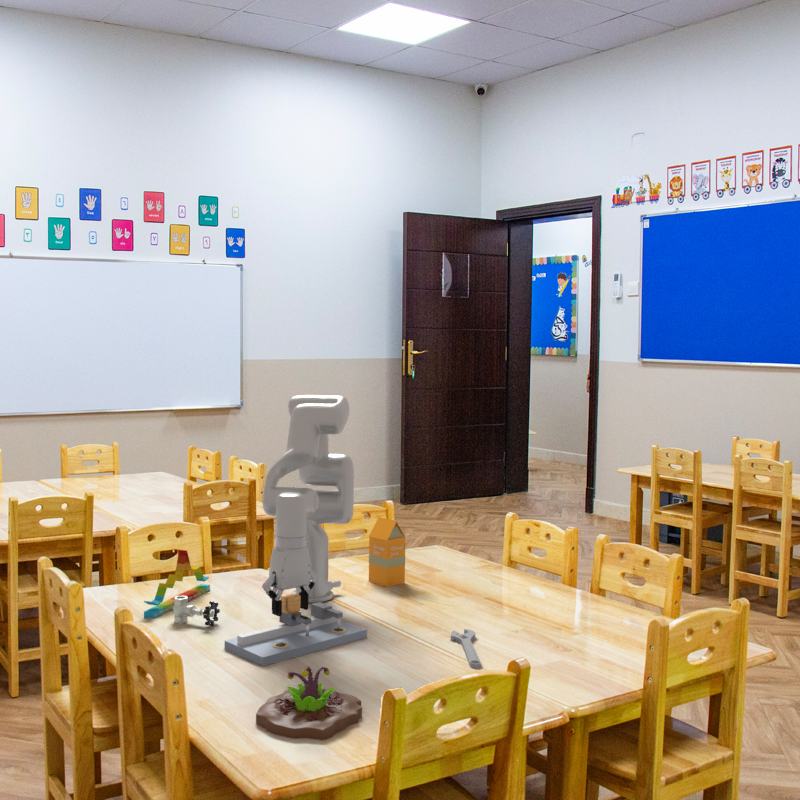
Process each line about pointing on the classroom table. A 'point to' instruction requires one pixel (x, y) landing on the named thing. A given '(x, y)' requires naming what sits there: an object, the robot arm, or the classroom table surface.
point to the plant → (309, 710)
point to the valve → (193, 611)
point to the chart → (169, 604)
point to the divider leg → (293, 611)
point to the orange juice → (386, 553)
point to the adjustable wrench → (467, 646)
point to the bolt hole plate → (296, 637)
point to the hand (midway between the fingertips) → (290, 611)
